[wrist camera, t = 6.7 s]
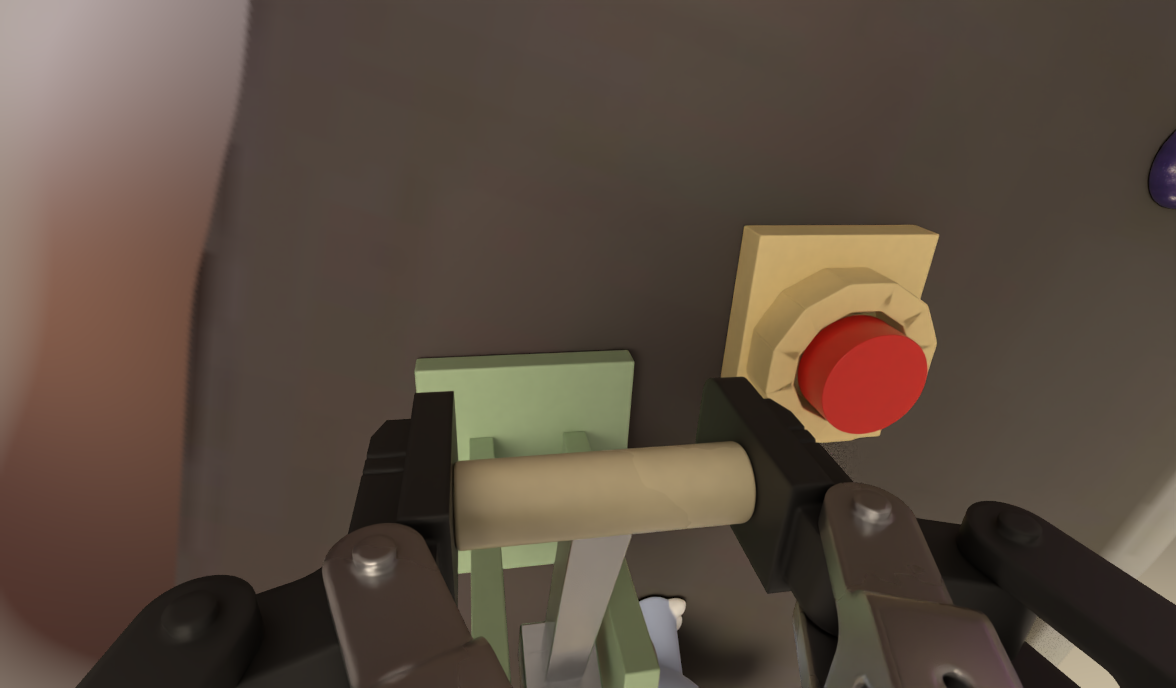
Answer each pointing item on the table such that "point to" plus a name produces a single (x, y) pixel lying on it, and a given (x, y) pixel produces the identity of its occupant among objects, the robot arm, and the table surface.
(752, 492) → the lever
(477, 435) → the bracket
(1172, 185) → the toy lamp
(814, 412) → the button box
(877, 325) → the button
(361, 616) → the robot arm
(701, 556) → the table surface
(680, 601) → the hippopotamus toy
